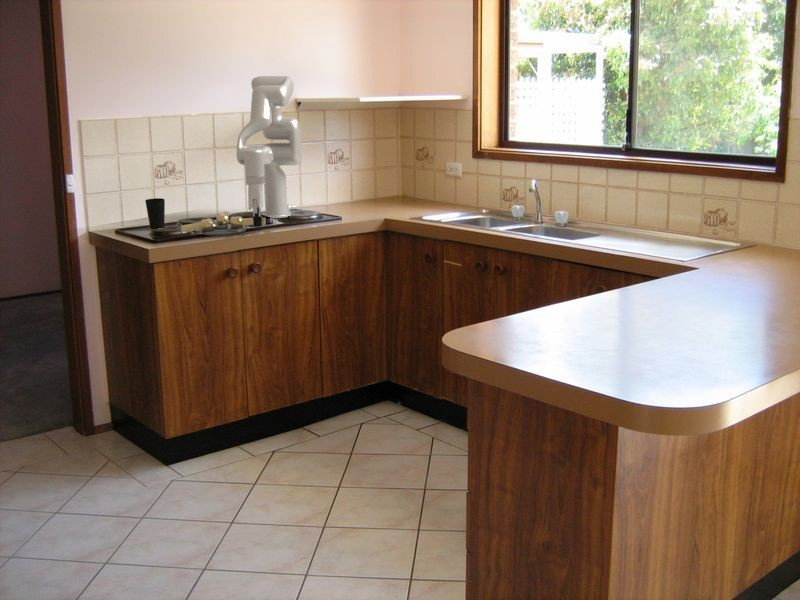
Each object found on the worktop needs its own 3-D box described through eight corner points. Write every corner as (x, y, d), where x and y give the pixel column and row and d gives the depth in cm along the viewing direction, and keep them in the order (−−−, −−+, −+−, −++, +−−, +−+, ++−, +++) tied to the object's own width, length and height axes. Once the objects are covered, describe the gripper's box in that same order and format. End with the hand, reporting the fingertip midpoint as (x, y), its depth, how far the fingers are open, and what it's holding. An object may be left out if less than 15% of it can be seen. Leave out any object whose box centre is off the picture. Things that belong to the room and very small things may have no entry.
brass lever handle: (230, 228, 361) (229, 218, 360) (231, 225, 366) (231, 215, 365) (264, 227, 362) (264, 217, 361) (266, 225, 366) (265, 215, 365)
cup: (155, 231, 364) (153, 202, 361) (143, 229, 369) (141, 200, 365) (170, 228, 370) (168, 199, 367) (159, 226, 375) (156, 197, 371)
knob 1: (228, 225, 367) (227, 215, 366) (216, 225, 367) (215, 215, 366) (232, 218, 381) (231, 209, 380) (221, 219, 381) (220, 209, 379)
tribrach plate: (225, 224, 377) (225, 218, 377) (256, 230, 364) (255, 223, 364) (185, 231, 363) (185, 225, 362) (215, 237, 350) (215, 231, 349)
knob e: (208, 228, 362) (208, 217, 361) (216, 229, 359) (215, 219, 358) (179, 233, 352) (178, 223, 351) (186, 234, 349) (185, 224, 348)
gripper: (247, 177, 361) (250, 222, 366) (243, 183, 346) (246, 230, 351) (266, 177, 361) (269, 222, 366) (263, 182, 347) (265, 229, 352)
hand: (257, 226), depth 359 cm, fingers closed
